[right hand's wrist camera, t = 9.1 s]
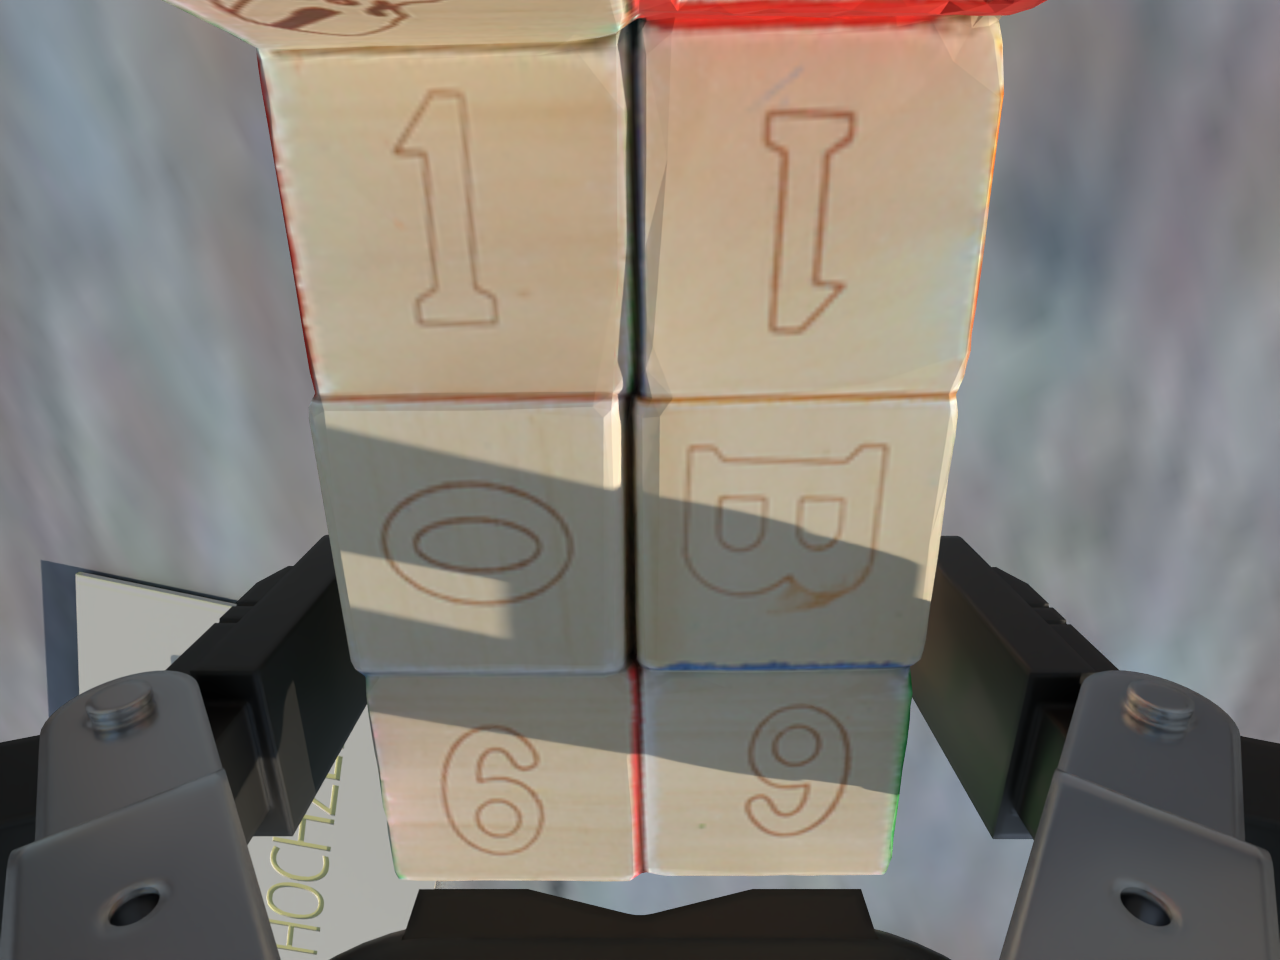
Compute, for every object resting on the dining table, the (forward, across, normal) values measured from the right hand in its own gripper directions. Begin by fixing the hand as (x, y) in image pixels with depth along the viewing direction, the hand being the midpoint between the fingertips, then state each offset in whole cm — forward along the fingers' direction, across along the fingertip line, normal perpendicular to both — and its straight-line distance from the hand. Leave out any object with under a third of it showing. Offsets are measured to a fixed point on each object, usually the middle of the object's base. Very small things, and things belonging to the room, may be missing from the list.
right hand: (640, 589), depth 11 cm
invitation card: (+14, +16, +19) cm, 29 cm away
